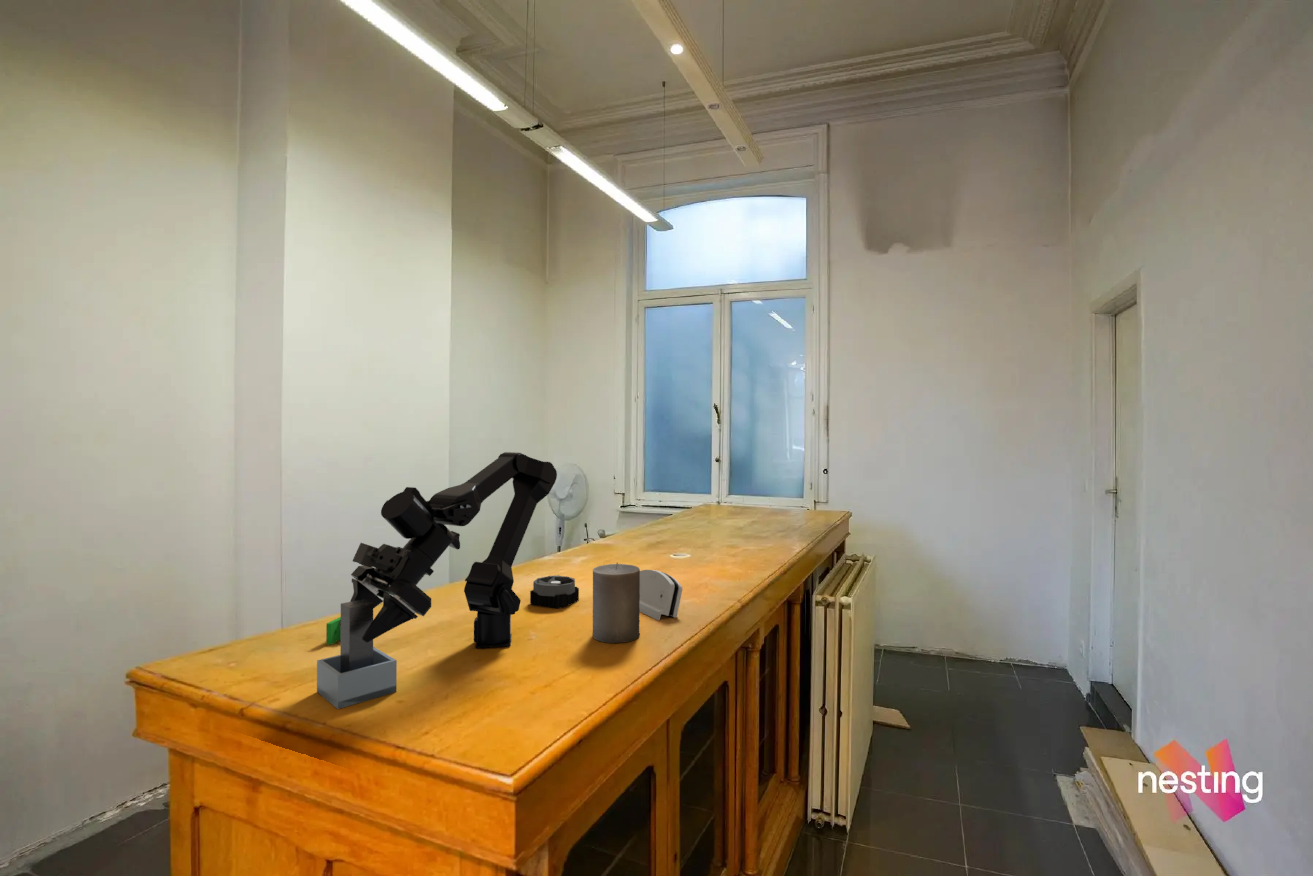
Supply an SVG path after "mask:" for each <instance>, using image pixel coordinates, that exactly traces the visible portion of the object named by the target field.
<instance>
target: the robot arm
mask: <svg viewBox="0 0 1313 876" xmlns="http://www.w3.org/2000/svg"><path fill="white" fill-rule="evenodd" d="M557 473H558V471H557V469H556V468H555V466H554V465H553V463H552V462H550V461H542V460H539V459H535V458H532V457H530V456H528V455H526V454H524V453H522V452H515V451H514V452H510V451H509V452H508V451H505V452H502V453H500V454H499V455H498V457H497V458H496V459H494V460H493V461H492V462H491V463H490V464H488V465H486V467H484V468H483V469H481V470H480V471H479V472H477V473H476V474H474V475H473V476H472V477H470V478H469V479H468V480H466V481H465V482H463V483H461V484H458V485H454V486H451V487H447V488H444V489H443V490H440V491H438V492H437V493H434V494H433V496H431V497H430V499H428V500H426V499H425V498H424V497H423V496H422V495H421V492H420V491H419V490H418V489H417V488H416V487H413V486H412V487H410V486H406V487H405V488H404V489H403V491H402V492H399V493H396V494H395V495H393V496H392V497H390V499H387V500H385V502H384V503H383V505H382V507H381V510H380V515H381V517H382V518H383V519H384V520H385V521H386V522H387V523H388V524H389V525H390V526H391V527H392V528H393V529H394V530H395V531H396V532H397V533H398V534H400V536H401V537H402V538H403V539H408V541H407V542H406V543H405V545H404V546H403V547H401V546H392V545H389V544H386V543H383V544H381V545H380V546H379V547H375V546H374V545H373V546H372V545H369V544H366V543H364V542H363V543H362V542H360V543H359V545H358V548H357V550H356V553H355V554H354V556H353V559H352V562H353V563H358V564H359V565H358V566H357V567H356V568H355V570H353V571H352V573H351V574H350V575H351V577H352V578H351V583H352V588H353V594H352V596H351V599H350V601H349V602H352V601H358V600H363V599H364V600H367V601H369V602H371V603H373V610H374V609H375V608H376V607H377V606H379V605H380V604H383V605H382V607H381V609H380V610H379V611H378V613H377V615H375V617H374V618H373V621H372V623H371V624H370V626H369V627H368V629H367V630H366V632H365V633H364V635H363V637H362V639H363V640H364V641H365V642H369V641H371V640H373V641H374V640H375V639H377V638H378V637H380V636H382V635H384V634H385V633H388V632H389V631H391V630H392V629H394V628H395V629H396V628H397V627H398V626H401V625H403V624H405V623H407V622H409V621H410V620H414V619H415V620H416V619H417V618H418V615H419V616H421V617H425V615H426V614H427V613H428V611H429V610H430V609H431V608H432V597H430V596H429V595H428V594H427V593H426V592H425V591H423V590H422V589H421V588H419V586H417V585H418V584H419V583H420V582H421V580H422V579H423V578H424V577H425V576H426V575H427V576H428V577H431V576H432V574H433V573H434V572H435V571H434V569H432V567H433V565H434V564H435V563H436V562H437V561H438V560H439V558H441V556H442V555H443V554H444V553H445V551H446V550H447V549H448V547H450V548H453V549H455V550H460V548H461V541H460V533H459V532H456V531H453V530H450V529H449V528H448V527H447V526H452V527H453V526H455V527H465V526H467V525H469V524H470V523H471V522H472V521H473V520H474V518H475V517H476V516H477V515H478V514H479V513H480V512H481V506H482V504H483V502H484V501H486V499H488V497H490V496H491V495H492V494H494V493H495V492H496V491H497V490H499V489H500V488H501V487H503V486H504V485H505V484H507V482H509V481H510V480H511V479H512V487H513V492H514V494H513V495H514V496H513V498H512V500H511V502H510V505H509V507H508V510H507V512H506V514H505V516H504V519H503V521H502V524H501V526H500V528H499V531H498V532H497V535H496V537H495V539H494V543H493V544H492V546H491V549H490V550H489V551H490V552H489V553H488V556H487V558H485V559H484V560H483V561H481V562H480V561H474V562H473V563H472V564H471V568H470V571H469V573H468V575H467V577H465V579H464V582H465V585H464V589H463V593H464V595H465V600H466V602H467V606H468V610H469V611H470V612H476V616H475V618H474V621H473V642H474V643H475V649H484V648H501V647H503V648H504V647H510V646H511V645H512V633H511V631H512V630H511V629H512V626H511V625H512V621H511V619H512V618H511V617H512V615H515V614H516V612H519V610H520V605H521V601H522V600H521V598H520V597H519V596H518V595H517V594H516V592H515V591H514V590H513V586H514V574H513V570H512V566H513V563H514V561H515V560H516V559H515V558H516V556H517V554H518V551H519V549H520V546H521V544H522V541H523V539H524V536H525V534H526V532H527V529H528V526H529V525H530V521H531V520H532V517H533V514H534V512H535V510H536V507H537V505H538V504H539V503H540V502H541V501H543V499H544V498H545V497H546V496H548V495H549V494H550V493H551V491H552V489H553V487H554V485H555V483H556V480H557V478H558V474H557ZM381 598H382V599H381ZM339 626H340V627H341V622H340V624H339Z"/></svg>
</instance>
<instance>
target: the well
mask: <svg viewBox="0 0 1313 876" xmlns="http://www.w3.org/2000/svg"><path fill="white" fill-rule="evenodd" d="M397 666H398V665H397V659H396V658H393V657H392V656H390V655H388V654H387V653H385V652H383V651H381V650H380V649H378V648H376V647H374V646H373V665H371V666H367V667H364V668H360V669H356V670H352V671H348V672H344V673H340V667H341V654H337V655H334V656H330V657H325V658H321V659H318V660H316V693H318V694H319V695H320V696H321V697H323V698H324V699H325V700H326V701H327V702H329V703H330V704H331V705H332V706H333V707H335V708H336V709H337V710H340V709H343V708H346V707H349V706H350V707H351V706H354V705H356V704H360V703H363V702H367V701H370V700H375V699H377V698H380V697H384V696H387V695H390V694H393V693H397V674H398V673H397Z"/></svg>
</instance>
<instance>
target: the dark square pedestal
mask: <svg viewBox="0 0 1313 876" xmlns="http://www.w3.org/2000/svg"><path fill="white" fill-rule="evenodd" d="M340 617H341V640H340V655H341V667H340V673H344V672H348V671H352V670H356V669H360V668H364V667H367V666H371V665H373V647H374V639H373V640H371V641H369V642H365V641H364V640H363V639H362V637H363V635H364V633H365V632H366V630H367V629H368V627H369V626H370V624H371V623H372V621H373V620H374V609H373V603H371V602H369V601H367V600H364V599H363V600H358V601H352V602H350V601H347V602H342V603H340Z"/></svg>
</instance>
